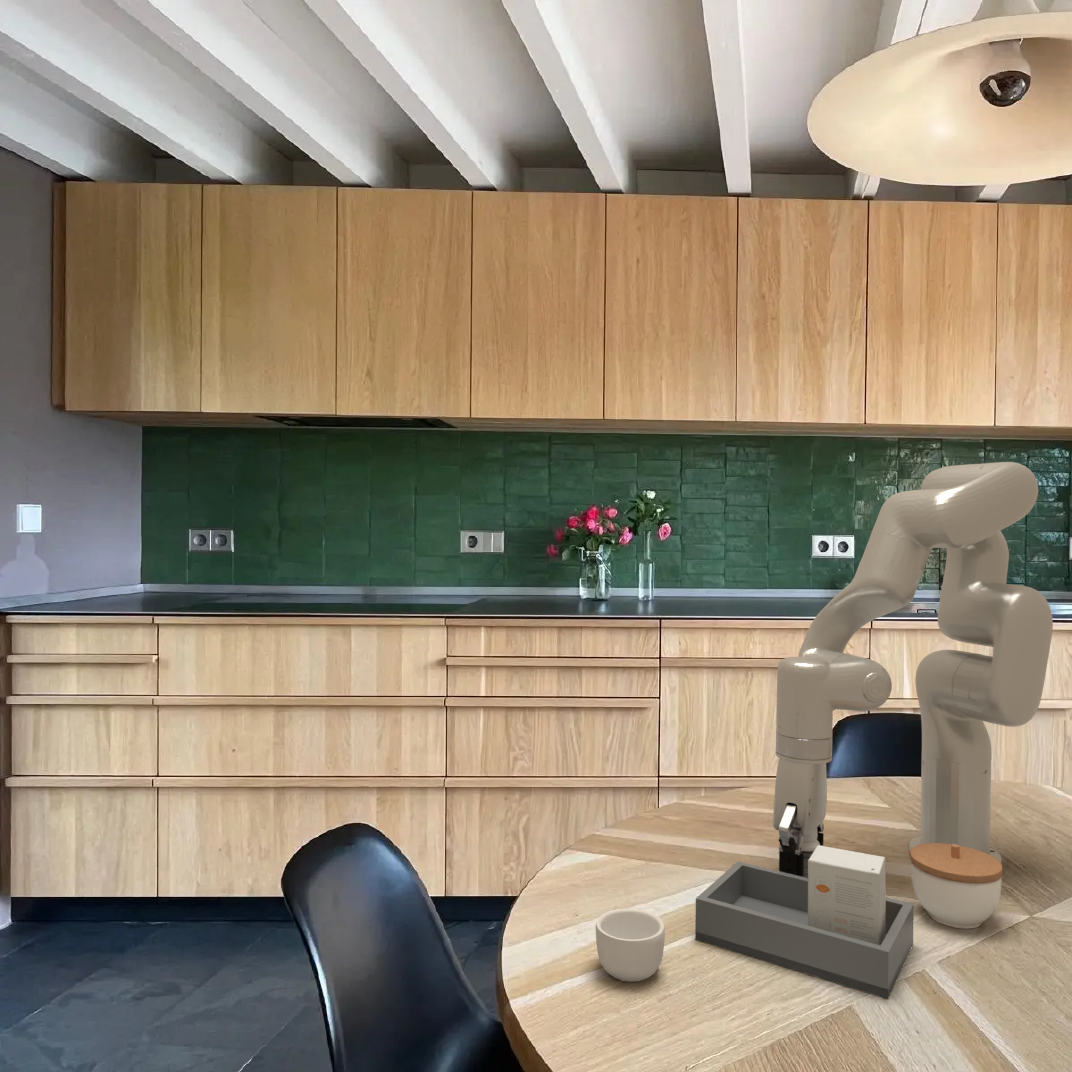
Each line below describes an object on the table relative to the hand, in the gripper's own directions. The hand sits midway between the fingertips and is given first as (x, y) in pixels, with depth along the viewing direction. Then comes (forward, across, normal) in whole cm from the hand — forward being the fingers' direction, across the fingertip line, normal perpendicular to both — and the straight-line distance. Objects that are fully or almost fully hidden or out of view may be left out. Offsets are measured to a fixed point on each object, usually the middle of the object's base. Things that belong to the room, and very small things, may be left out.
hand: (801, 869), depth 117 cm
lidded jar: (+3, -2, +19) cm, 19 cm away
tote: (+2, +16, +5) cm, 17 cm away
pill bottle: (+3, 0, 0) cm, 3 cm away
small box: (+2, +16, +10) cm, 19 cm away
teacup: (+3, +33, -9) cm, 34 cm away
